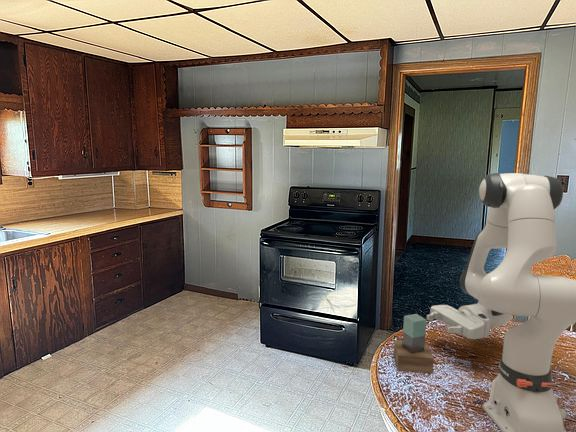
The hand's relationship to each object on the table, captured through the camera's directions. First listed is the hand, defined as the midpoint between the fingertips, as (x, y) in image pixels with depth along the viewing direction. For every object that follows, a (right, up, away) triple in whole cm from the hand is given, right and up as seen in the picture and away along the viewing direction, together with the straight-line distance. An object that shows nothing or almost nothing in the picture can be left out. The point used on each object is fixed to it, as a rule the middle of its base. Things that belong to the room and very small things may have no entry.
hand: (437, 323), depth 137 cm
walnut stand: (-9, -13, -1) cm, 15 cm away
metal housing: (-9, -8, -2) cm, 12 cm away
